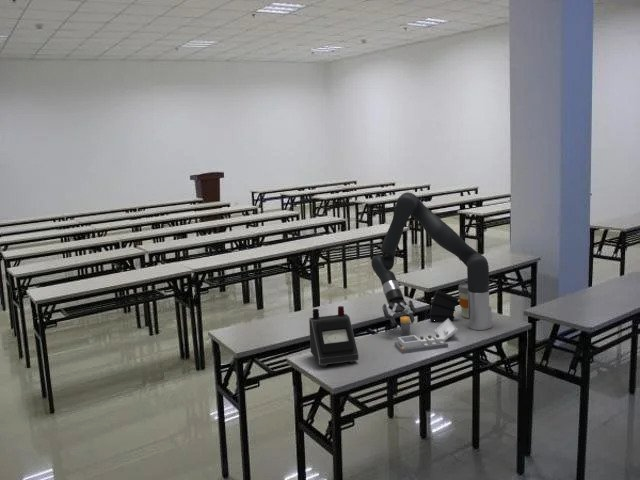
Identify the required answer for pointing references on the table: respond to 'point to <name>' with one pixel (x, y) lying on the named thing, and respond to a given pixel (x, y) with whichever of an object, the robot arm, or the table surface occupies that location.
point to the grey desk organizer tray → (419, 343)
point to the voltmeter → (332, 338)
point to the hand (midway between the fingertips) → (403, 323)
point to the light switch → (446, 329)
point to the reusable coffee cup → (464, 299)
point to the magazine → (442, 307)
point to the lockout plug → (405, 326)
